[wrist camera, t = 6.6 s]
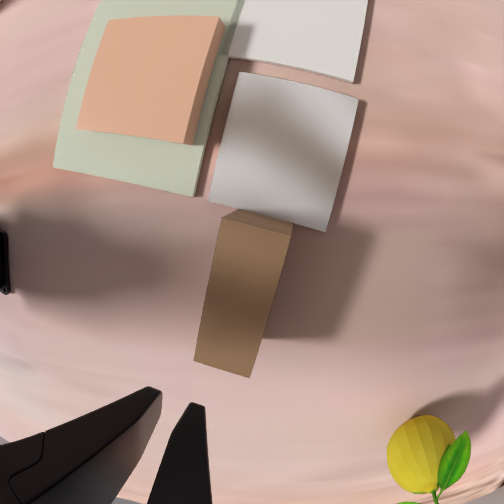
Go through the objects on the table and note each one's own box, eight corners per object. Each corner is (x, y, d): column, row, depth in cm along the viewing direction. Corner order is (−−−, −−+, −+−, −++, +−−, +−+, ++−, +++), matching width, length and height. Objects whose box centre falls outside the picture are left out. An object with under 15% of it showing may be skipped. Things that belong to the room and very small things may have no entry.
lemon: (381, 454, 21) (394, 544, 12) (366, 417, 20) (383, 521, 11) (448, 425, 20) (482, 508, 10) (443, 384, 19) (489, 477, 9)
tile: (90, 131, 18) (193, 146, 17) (75, 129, 16) (183, 143, 16) (120, 28, 16) (226, 28, 15) (108, 20, 14) (219, 16, 14)
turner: (287, 345, 20) (283, 386, 16) (188, 316, 21) (161, 349, 16) (357, 101, 16) (373, 79, 11) (241, 74, 16) (223, 46, 12)
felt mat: (194, 196, 18) (192, 197, 18) (56, 167, 19) (52, 167, 19) (248, -4, 15) (247, -7, 14) (102, 2, 16) (100, 1, 15)
